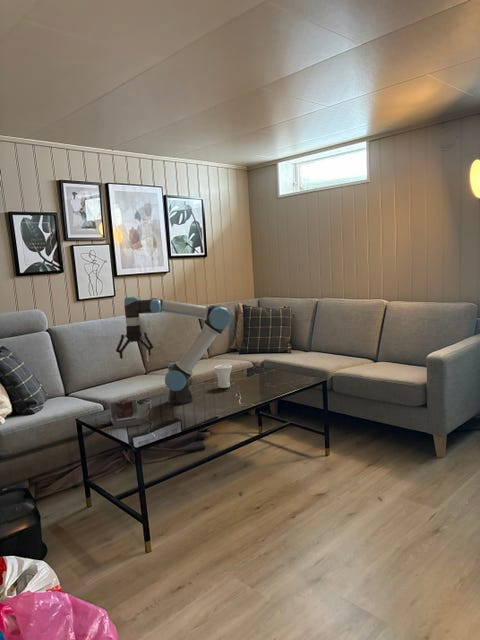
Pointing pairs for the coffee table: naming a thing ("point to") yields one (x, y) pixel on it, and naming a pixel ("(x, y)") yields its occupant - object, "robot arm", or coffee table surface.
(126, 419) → the pan
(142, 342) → the robot arm
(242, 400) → the coffee table surface
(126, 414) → the box
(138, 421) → the scale
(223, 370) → the cup
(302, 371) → the coffee table surface
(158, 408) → the coffee table surface
